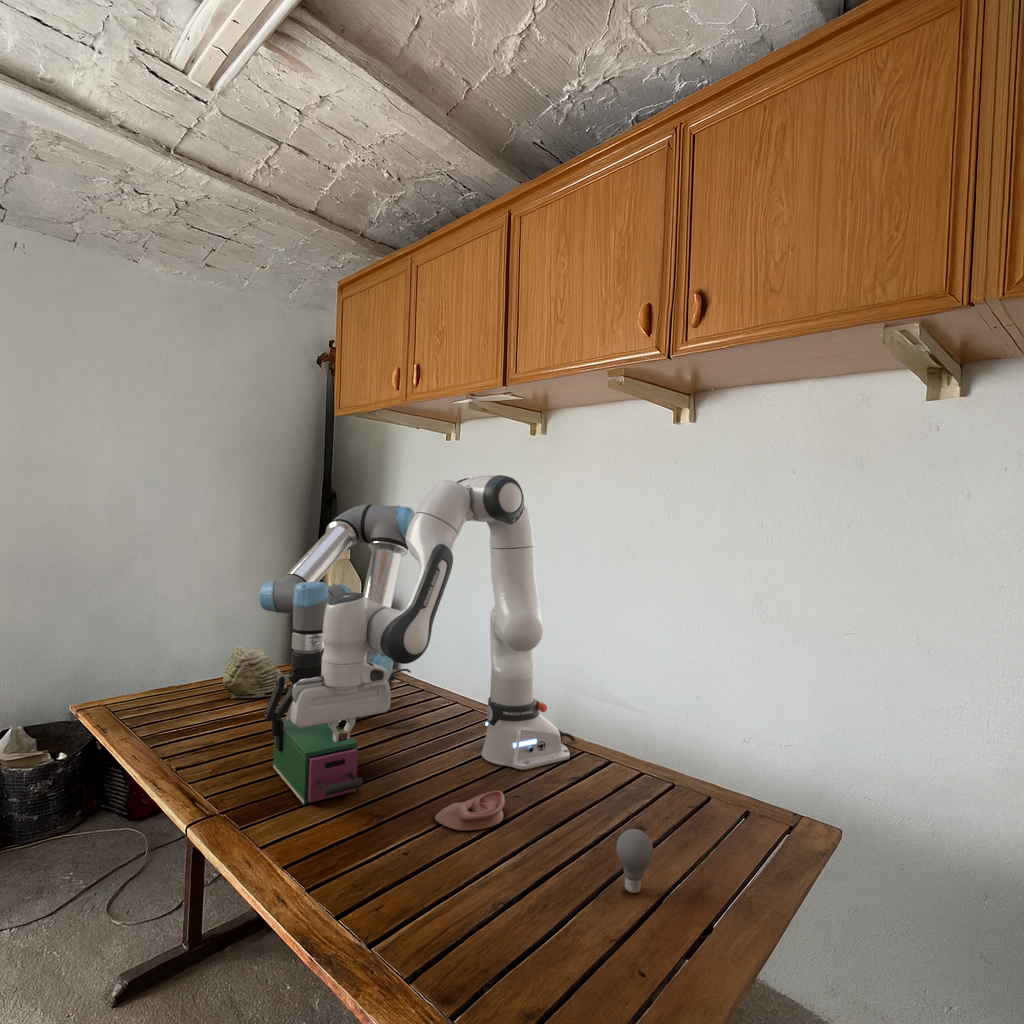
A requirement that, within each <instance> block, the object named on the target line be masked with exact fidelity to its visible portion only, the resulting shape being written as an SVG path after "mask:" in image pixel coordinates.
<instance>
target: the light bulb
mask: <svg viewBox="0 0 1024 1024" xmlns="http://www.w3.org/2000/svg"><path fill="white" fill-rule="evenodd" d="M615 849H616V854H617V857H618V859H619V861H620V863H621V865H622V867H623V873H624V874H623V875H624V876H625V878H624V888H625V890H627V891H628V892H630V893H634V894H635V893H639V892H640V891H641V889H642V887H641V886H642V879H643V877H644V875H645V871H646V868H647V867H648V866H649V864H650V863H651V861H652V859H653V855H654V847H653V843H652V841H651V838H649V836H648V835H647V834H646V833H645V832H643V831H642V830H641V829H636V828H629V829H627V830H625V831H623V832H622V833H621V834H620V835H619V837H618V839H617V841H616V847H615Z"/></svg>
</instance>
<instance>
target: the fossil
mask: <svg viewBox="0 0 1024 1024" xmlns="http://www.w3.org/2000/svg"><path fill="white" fill-rule="evenodd" d="M278 674H280V675H283V673H282V672H281V669H279V668H278V667H277V665H276V663H275V662H274V660H273V659H272V658H271V657H270V656H269V655H268V654H267V653H266V652H265V650H264V649H263V648H260V647H258V648H251V647H247V646H246V647H245V646H238V647H237V648H236V649H235V650H233V651H232V653H231V656H230V657H229V659H228V660H227V663H226V666H225V668H224V671H223V675H222V676H223V677H222V685H223V687H224V688H225V690H226V691H228V693H229V698H230V699H250V698H264V697H271V695H272V693H273V690H274V688H275V685H276V676H277V675H278ZM287 687H288V686H287V684H286V685H284V690H283V692H282V694H284V693H285V691H286V689H287Z"/></svg>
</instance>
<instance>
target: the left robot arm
mask: <svg viewBox="0 0 1024 1024" xmlns="http://www.w3.org/2000/svg"><path fill="white" fill-rule="evenodd" d="M415 513H416V512H415V511H414V510H413V508H411V507H409V506H401V505H381V504H380V505H379V504H361V505H357V506H354V507H351V508H349V509H347V510H345V511H343V512H342V513H340V514H338V516H336V517H335V518H334V519H333V520H332V521H331V522H329V524H327V526H326V527H325V533H324V534H323V535H322V536H321V537H320V539H318V540H317V542H316V543H315V544H314V545H312V547H311V548H310V549H309V550H308V551H307V552H306V553H305V554H304V555H303V556H302V557H301V558H300V560H299V561H298V562H297V563H296V564H295V565H294V566H292V568H290V570H289V571H288V572H287V573H286V574H285V575H284V577H282V578H281V579H280V581H277V580H273V581H267V582H265V583H264V584H263V585H262V586H261V588H260V590H259V593H258V601H259V604H260V607H261V608H262V610H264V611H267V612H271V613H277V614H291V615H292V633H291V650H292V651H291V658H290V671H289V674H282V675H280V674H278V675H277V676H276V685H275V688H274V690H273V693H272V695H271V696H270V698H269V699H268V700H269V701H268V702H267V706H266V707H265V711H264V712H263V718H264V719H265V720H266V721H268V722H271V734H272V736H273V737H274V736H276V748H277V750H278V751H282V749H283V727H284V722H283V721H282V718H283V717H284V715H285V714H286V715H285V720H288V719H291V708H292V703H293V699H292V688H293V686H294V685H295V684H296V683H297V682H299V681H300V680H301V679H304V678H307V679H308V678H313V677H319V676H321V666H322V655H323V652H324V642H323V622H324V614H325V609H326V606H327V603H328V602H329V600H330V599H331V598H333V597H334V596H337V595H340V594H344V593H352V590H351V588H349V587H348V586H347V585H345V584H334V583H333V584H332V585H328V584H327V583H326V582H323V581H321V580H322V579H323V577H325V575H326V574H327V573H328V572H329V571H330V569H332V567H333V566H334V565H335V564H336V563H337V561H338V560H339V559H340V558H341V557H342V556H343V554H344V553H346V551H348V550H352V548H354V547H355V546H356V545H357V544H368V545H367V547H368V548H369V550H370V551H371V556H370V559H369V560H370V561H369V564H368V569H367V573H366V578H365V581H364V582H365V583H364V587H363V592H362V594H363V595H364V596H365V597H366V598H368V599H369V600H371V601H373V602H375V603H378V604H380V605H383V606H386V607H390V608H392V606H393V601H394V596H395V590H396V587H397V586H396V585H397V582H398V576H399V571H400V566H401V561H402V558H403V557H405V556H406V555H408V553H409V549H408V547H407V544H406V538H405V537H406V533H407V530H408V527H409V525H410V522H411V521H412V519H413V517H414V515H415ZM366 662H370V663H374V664H377V665H379V666H381V667H383V668H384V669H386V670H387V671H388V678H387V679H386V681H387V682H388V683H389V685H390V684H391V677H392V676H394V675H396V674H398V673H401V672H408V673H412V671H411V670H410V669H408V668H400V669H398V670H396V671H394V672H393V668H394V660H392V659H390V658H389V657H387V656H385V655H383V654H380V653H377V652H375V651H369V652H368V653H367V655H366ZM289 681H290V682H291V685H290V686H289V687H288V691H287V693H285V695H284V696H283V698H282V700H281V697H282V695H283V693H284V692H283V690H284V685H287V684H288V682H289ZM298 685H300V683H299V684H298ZM282 692H283V693H282ZM280 700H281V701H280ZM286 712H287V713H286ZM343 722H344V720H341V721H338V727H339V726H340V725H342V723H343Z"/></svg>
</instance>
